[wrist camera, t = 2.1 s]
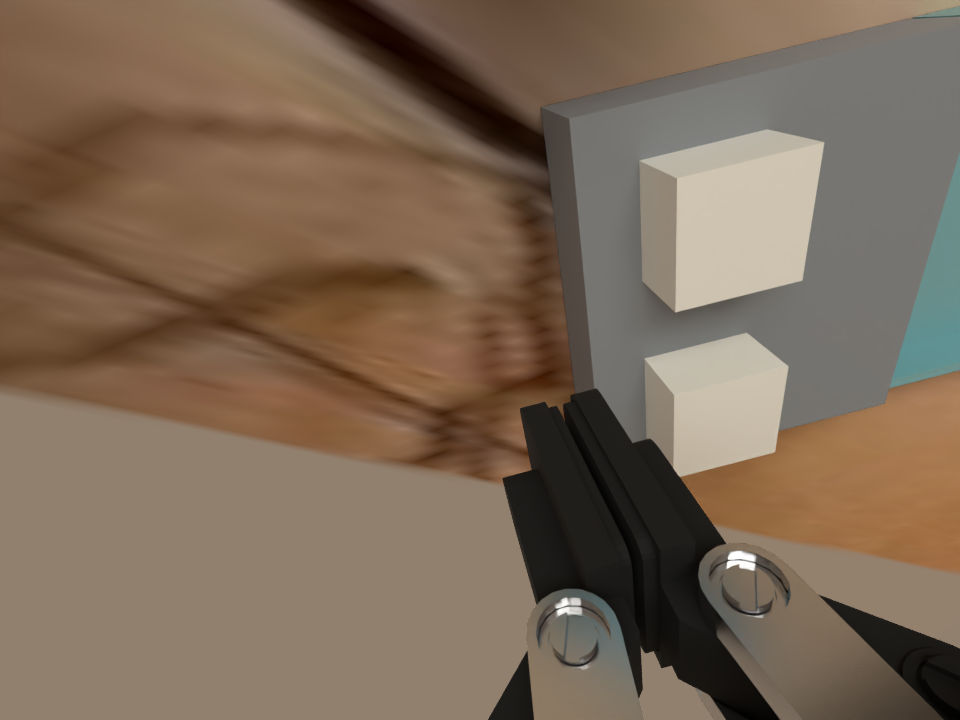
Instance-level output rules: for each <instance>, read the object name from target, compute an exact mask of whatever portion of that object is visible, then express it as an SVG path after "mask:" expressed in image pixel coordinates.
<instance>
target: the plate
mask: <svg viewBox="0 0 960 720" xmlns="http://www.w3.org/2000/svg"><path fill="white" fill-rule="evenodd" d="M541 112H542V121H543V129H544V137H545V146H546V154H547V162H548V171H549V179H550V187H551V196H552V204H553V212H554V221H555V229H556V237H557V246H558V254H559V263H560V271H561V279H562V288H563V296H564V304H565V313H566V321H567V329H568V338H569V346H570V354H571V363H572V371H573V379H574V388H575V394H576V393H580V392H584V391H588V390H591V389H595V388H596V389H598V390H599V392H600V393H601V395H602V396H603V398H604V399H605V401H606V402H607V404H608V405H609V407H610V409H611V410H612V412H613V413H614V415H615V416H616V418H617V419H618V421H619V423H620V424H621V426H622V427H623V429H624V430H625V432H626V433H627V435H628V437H629V438H630V440H631V441H632V443H634V442H638V441H642V440H645V439H647V438H646V402H645V364H644V359H645V358H649V357H653V356H657V355H661V354H664V353H668V352H672V351H676V350H680V349H684V348H688V347H692V346H696V345H700V344H704V343H708V342H712V341H716V340H720V339H724V338H728V337H732V336H736V335H740V334H744V333H748V334H749V335H750V336H752V337H753V338H754V339H755V340H756V341H758V342H759V343H760V344H761V345H763V346H764V347H765V348H766V349H768V350H769V351H770V352H771V353H773V354H774V355H775V356H776V357H778V358H779V359H780V360H781V361H782V362H784V363H785V364H786V365H787V366H789V367H788V373H787V380H786V386H785V392H784V398H783V405H782V411H781V417H780V423H779V430H778V431H780V430H784V429H788V428H792V427H796V426H800V425H804V424H808V423H811V422H815V421H819V420H823V419H827V418H831V417H835V416H839V415H843V414H846V413H850V412H854V411H858V410H862V409H866V408H870V407H874V406H878V405H881V404H885V401H886V398H887V394H888V391H889V388H890V384H891V381H892V378H893V374H894V371H895V367H896V364H897V361H898V357H899V354H900V351H901V347H902V344H903V341H904V337H905V334H906V331H907V327H908V324H909V321H910V317H911V314H912V310H913V307H914V304H915V300H916V297H917V294H918V290H919V287H920V284H921V280H922V277H923V274H924V270H925V267H926V264H927V260H928V257H929V253H930V250H931V247H932V243H933V240H934V237H935V233H936V230H937V227H938V223H939V220H940V217H941V213H942V210H943V207H944V203H945V200H946V196H947V193H948V190H949V186H950V183H951V180H952V176H953V173H954V170H955V166H956V163H957V160H958V156H959V153H960V17H940V18H920V19H905V20H900V21H896V22H892V23H888V24H884V25H880V26H876V27H871V28H867V29H863V30H859V31H855V32H851V33H846V34H842V35H838V36H834V37H830V38H826V39H822V40H817V41H813V42H809V43H805V44H801V45H797V46H792V47H788V48H784V49H780V50H776V51H772V52H768V53H763V54H759V55H755V56H751V57H747V58H743V59H738V60H734V61H730V62H726V63H722V64H718V65H713V66H709V67H705V68H701V69H697V70H693V71H689V72H684V73H680V74H676V75H672V76H668V77H664V78H659V79H655V80H651V81H647V82H643V83H639V84H635V85H630V86H626V87H622V88H618V89H614V90H610V91H605V92H601V93H597V94H593V95H589V96H585V97H581V98H576V99H572V100H568V101H564V102H560V103H556V104H551V105H547V106H543V107H541ZM767 129H768V130H773V131H777V132H781V133H786V134H790V135H795V136H799V137H804V138H808V139H812V140H817V141H821V142H824V148H823V154H822V161H821V167H820V173H819V179H818V186H817V192H816V198H815V204H814V211H813V217H812V223H811V229H810V236H809V242H808V248H807V254H806V261H805V267H804V273H803V279H802V281H799V282H795V283H791V284H787V285H783V286H779V287H775V288H771V289H767V290H763V291H759V292H755V293H751V294H747V295H743V296H739V297H735V298H731V299H727V300H723V301H719V302H715V303H711V304H707V305H703V306H699V307H695V308H691V309H687V310H683V311H679V312H674V311H673V310H672V309H671V308H670V307H669V306H668V305H667V304H666V303H665V302H664V301H663V300H662V299H661V298H659V297H658V296H657V295H656V294H655V293H654V292H653V291H652V290H651V289H650V288H649V287H648V286H647V285H646V284H645V283H643V282H642V248H641V210H640V172H639V161H640V160H644V159H648V158H652V157H656V156H660V155H664V154H668V153H673V152H677V151H681V150H685V149H689V148H693V147H697V146H701V145H705V144H709V143H714V142H718V141H722V140H726V139H730V138H734V137H738V136H742V135H746V134H750V133H754V132H759V131H763V130H767Z"/></svg>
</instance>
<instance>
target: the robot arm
mask: <svg viewBox="0 0 960 720" xmlns="http://www.w3.org/2000/svg"><path fill="white" fill-rule="evenodd" d="M563 410H564V417H565V421H564V419H563V417H562V415H561V413H560V411H559V409H558V407H557V406H554V407H550V408H548V406H547V404H546V403H545V402H542V403H539V404H535V405H531V406H527V407H524V408H520V413H521V418H522V423H523V428H524V433H525V438H526V443H527V448H528V453H529V458H530V464H531V469H532V470H531V471H527V472H523V473H520V474H516V475H512V476H509V477H505V478H503V483H504V487H505V491H506V495H507V499H508V503H509V507H510V511H511V515H512V519H513V523H514V526H515V530H516V534H517V537H518V541H519V544H520V548H521V551H522V555H523V558H524V562H525V566H526V569H527V573H528V576H529V580H530V583H531V587H532V590H533V594H534V597H535V601H536V605H537V606H536V607H535V608H534V609H533V611H532V613H531V615H530V618H529V620H528V623H527V636H526V639H527V649H528V651H527V652H526V654H525V656H524V658H523V659H522V661H521V663H520V665H519V667H518V668H517V670H516V672H515V673H514V675H513V677H512V679H511V680H510V682H509V684H508V686H507V687H506V689H505V691H504V693H503V695H502V696H501V698H500V700H499V702H498V703H497V705H496V707H495V708H494V710H493V712H492V714H491V715H490V717H489V719H488V720H644V718H643V714H642V710H641V706H640V702H639V697H640V694H641V692H642V689H643V686H642V668H641V667H642V666H641V647H642V649H643V651H644V652H645V653H649V652H652V651H654V653H655V654H656V657H657V659H658V661H659V664H660V666H661V668H664V667H668V666H671V665H672V667H673V669H674V671H675V673H676V675H677V677H678V679H680V680H682V681H683V682H686V683H687V684H689V685H691V686H693V687H695V689H696V691H697V693H698V695H699V697H700V699H701V701H702V702H703V703H704V705H705V707H706V708H707V710H708V711H709V713H710V714H711V716H712V718H713V719H714V720H960V649H959V648H957V647H955V646H953V645H950V644H948V643H945V642H943V641H940V640H937V639H935V638H932V637H929V636H926V635H924V634H921V633H918V632H916V631H913V630H910V629H908V628H905V627H903V626H900V625H897V624H895V623H892V622H889V621H887V620H884V619H881V618H879V617H876V616H873V615H871V614H868V613H866V612H863V611H860V610H858V609H855V608H852V607H850V606H847V605H844V604H842V603H839V602H836V601H833V600H831V599H828V598H826V597H823V596H820V595H818V594H817V593H816V592H815V591H814V590H813V589H812V588H811V587H810V586H809V585H808V584H807V583H806V582H805V581H804V580H803V579H802V578H801V577H800V576H799V575H798V574H797V573H796V572H795V571H794V570H793V569H792V568H791V567H790V566H788V564H786V563H785V562H784V561H783V560H781V559H780V558H779V557H777V556H776V555H775V554H773V553H771V552H769V551H767V550H765V549H763V548H761V547H758V546H754V545H750V544H745V543H728V544H726V543H725V541H724V540H723V538H722V537H721V535H720V534H719V533H718V531H717V530H716V528H715V527H714V525H713V524H712V523H711V521H710V520H709V518H708V517H707V515H706V514H705V513H704V511H703V510H702V508H701V507H700V505H699V504H698V503H697V501H696V500H695V498H694V497H693V495H692V494H691V493H690V491H689V490H688V488H687V487H686V486H685V484H684V483H683V481H682V480H681V478H680V477H679V476H678V474H677V473H676V471H675V470H674V468H673V467H672V466H671V464H670V463H669V461H668V460H667V458H666V457H665V456H664V454H663V453H662V451H661V450H660V448H659V447H658V446H657V444H656V443H655V442H654V441H653V440H651V439H645V440H642V441H638V442H634V443H632V441H631V440H630V438H629V437H628V435H627V433H626V432H625V430H624V429H623V427H622V426H621V424H620V423H619V421H618V419H617V418H616V416H615V415H614V413H613V412H612V410H611V409H610V407H609V405H608V404H607V402H606V401H605V399H604V398H603V396H602V395H601V393H600V392H599V390H598V389H596V388H595V389H591V390H588V391H584V392H580V393H576V394H573V395H571V402H569V403H565V404H563ZM640 645H641V647H640Z"/></svg>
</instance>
